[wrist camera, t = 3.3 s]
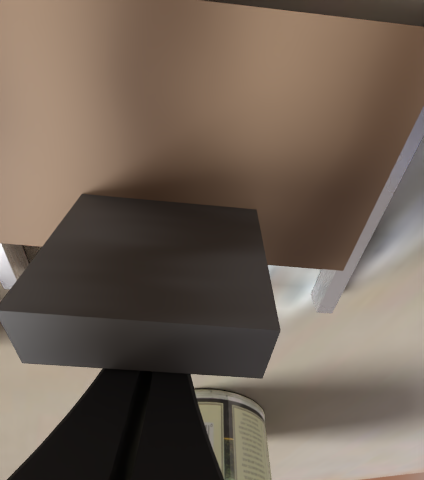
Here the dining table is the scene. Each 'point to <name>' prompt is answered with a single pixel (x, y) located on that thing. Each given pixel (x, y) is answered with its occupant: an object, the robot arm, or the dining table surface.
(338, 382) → the dining table surface
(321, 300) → the rails
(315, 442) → the dining table surface
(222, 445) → the coffee can
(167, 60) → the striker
